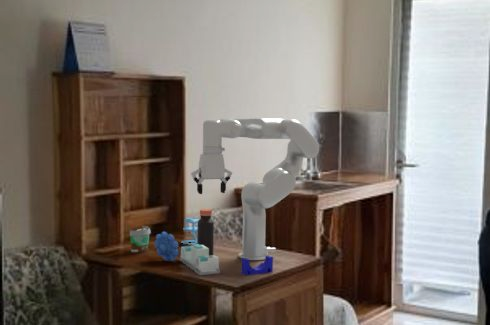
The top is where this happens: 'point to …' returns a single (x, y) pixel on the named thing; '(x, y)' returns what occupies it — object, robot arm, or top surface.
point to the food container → (140, 240)
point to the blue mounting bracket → (262, 268)
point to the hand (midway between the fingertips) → (211, 193)
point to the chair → (191, 230)
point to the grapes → (166, 246)
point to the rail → (200, 262)
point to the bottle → (206, 230)
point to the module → (198, 252)
